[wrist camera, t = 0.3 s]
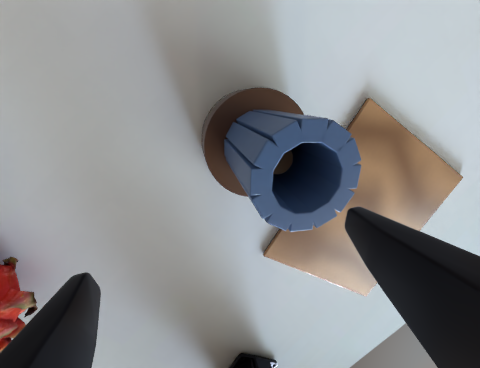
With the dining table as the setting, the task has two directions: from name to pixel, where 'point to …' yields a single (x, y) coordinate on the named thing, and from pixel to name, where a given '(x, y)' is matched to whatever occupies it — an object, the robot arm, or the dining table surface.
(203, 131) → the stand
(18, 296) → the dragon fruit
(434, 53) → the dining table surface
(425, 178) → the wooden board
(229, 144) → the sleeve
